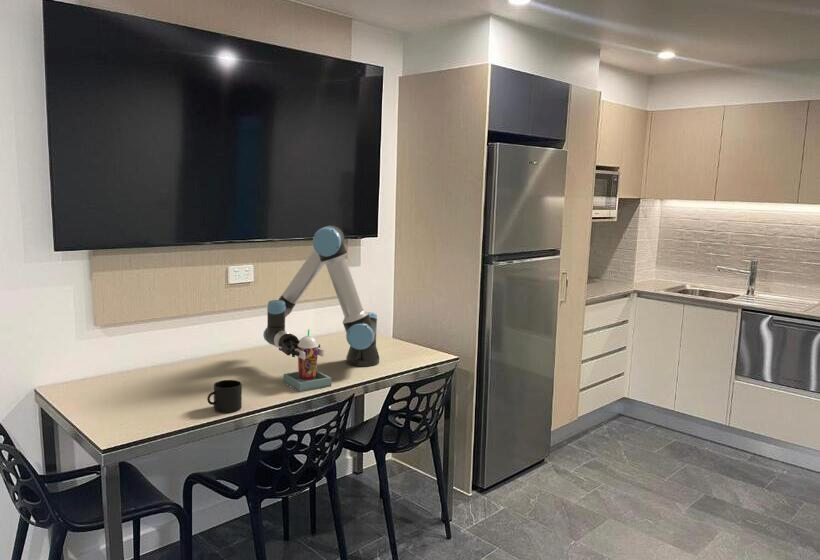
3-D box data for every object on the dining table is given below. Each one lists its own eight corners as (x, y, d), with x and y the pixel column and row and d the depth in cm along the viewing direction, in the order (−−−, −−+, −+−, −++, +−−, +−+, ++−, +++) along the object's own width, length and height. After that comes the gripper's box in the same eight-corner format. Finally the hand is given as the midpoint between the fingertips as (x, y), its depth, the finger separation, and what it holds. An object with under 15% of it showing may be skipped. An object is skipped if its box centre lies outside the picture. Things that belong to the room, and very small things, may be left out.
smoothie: (313, 382, 245) (315, 332, 242) (293, 380, 246) (294, 330, 244) (320, 376, 253) (322, 328, 250) (300, 374, 255) (302, 326, 252)
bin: (313, 376, 260) (313, 368, 259) (331, 386, 249) (331, 377, 249) (283, 382, 251) (283, 374, 251) (300, 392, 240) (300, 383, 240)
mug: (202, 408, 220) (202, 383, 218) (235, 402, 227) (235, 378, 226) (212, 416, 212) (212, 391, 211) (245, 410, 220) (245, 385, 218)
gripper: (307, 347, 269) (335, 360, 251) (264, 353, 256) (290, 367, 239) (308, 330, 268) (336, 342, 250) (264, 335, 255) (290, 348, 237)
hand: (313, 354), depth 244 cm, fingers closed on smoothie, 7 cm apart
